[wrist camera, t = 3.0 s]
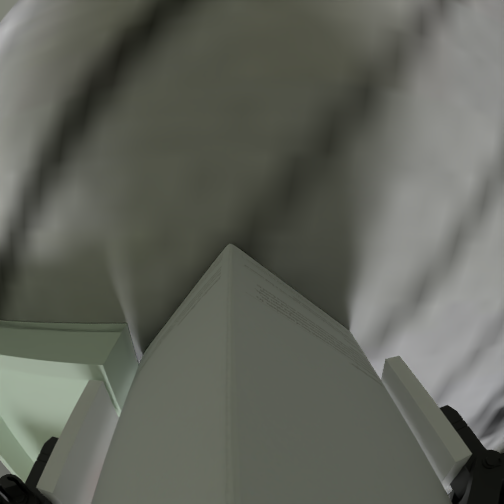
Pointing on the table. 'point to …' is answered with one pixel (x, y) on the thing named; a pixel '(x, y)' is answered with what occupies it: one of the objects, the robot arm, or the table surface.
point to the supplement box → (260, 407)
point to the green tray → (55, 380)
